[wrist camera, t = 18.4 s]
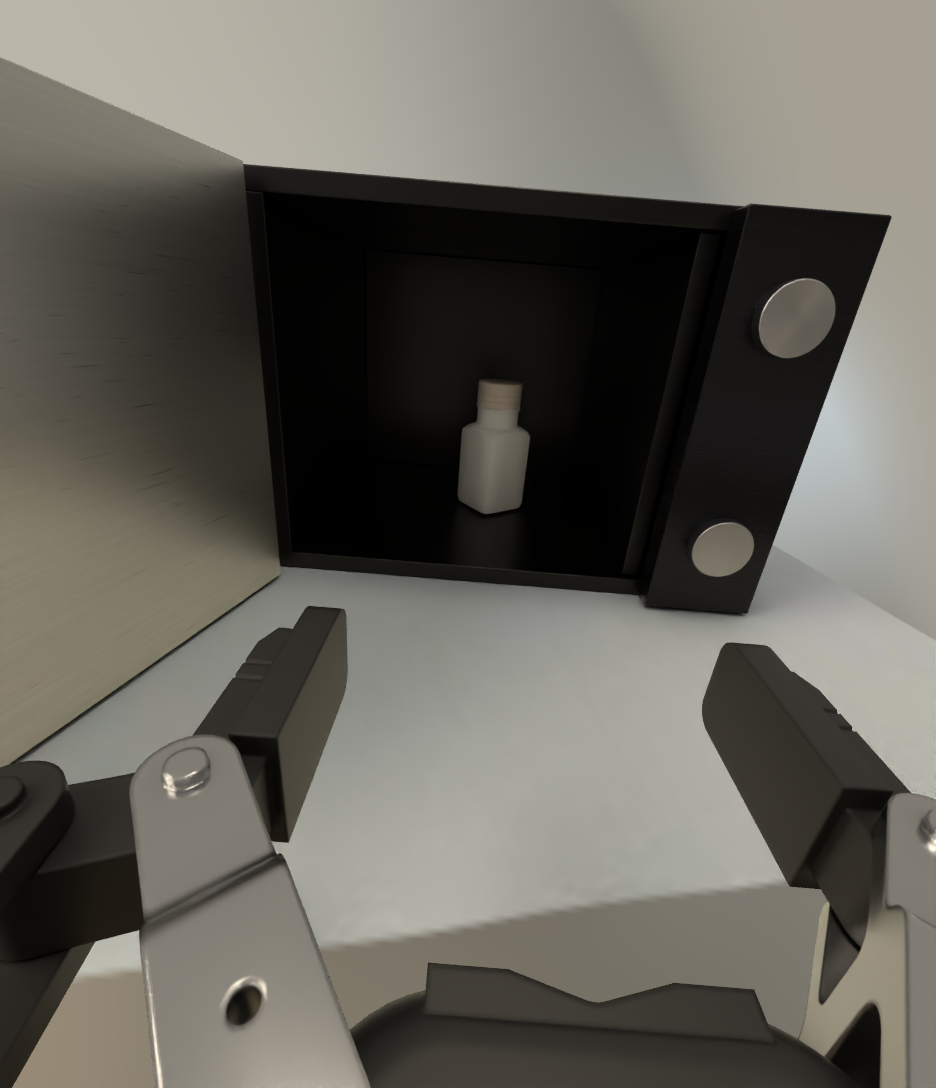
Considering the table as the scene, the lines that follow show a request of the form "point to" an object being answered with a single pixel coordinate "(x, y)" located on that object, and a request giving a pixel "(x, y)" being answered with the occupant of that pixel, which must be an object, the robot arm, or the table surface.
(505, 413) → the pepper shaker
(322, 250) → the microwave
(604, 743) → the table surface
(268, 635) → the robot arm
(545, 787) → the table surface
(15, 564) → the microwave door
